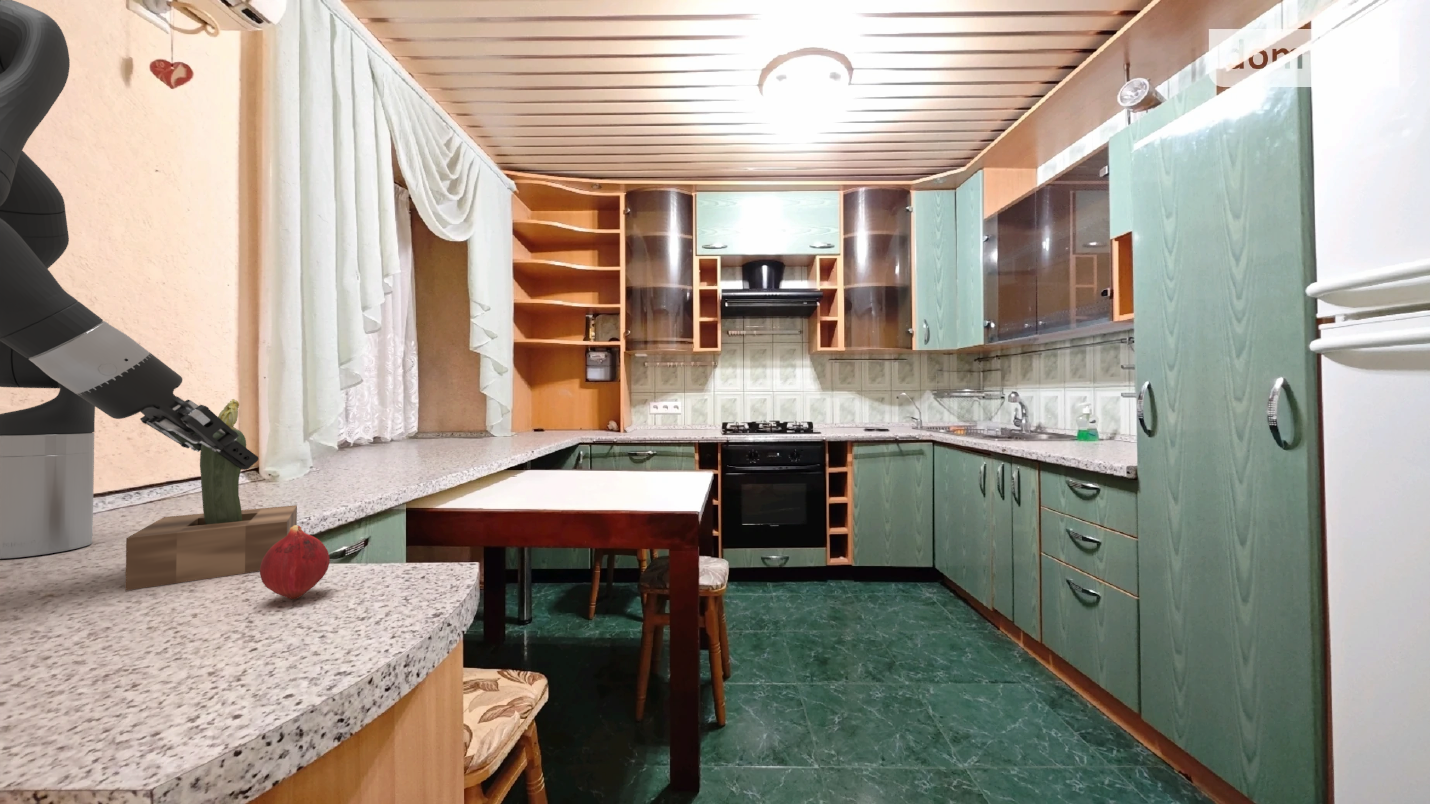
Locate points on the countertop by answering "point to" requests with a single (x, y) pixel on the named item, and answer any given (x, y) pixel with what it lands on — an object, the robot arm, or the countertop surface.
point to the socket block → (203, 546)
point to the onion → (294, 564)
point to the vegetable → (221, 476)
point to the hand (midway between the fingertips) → (242, 463)
